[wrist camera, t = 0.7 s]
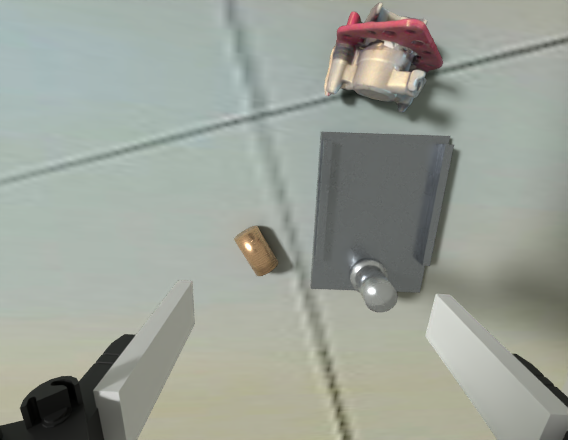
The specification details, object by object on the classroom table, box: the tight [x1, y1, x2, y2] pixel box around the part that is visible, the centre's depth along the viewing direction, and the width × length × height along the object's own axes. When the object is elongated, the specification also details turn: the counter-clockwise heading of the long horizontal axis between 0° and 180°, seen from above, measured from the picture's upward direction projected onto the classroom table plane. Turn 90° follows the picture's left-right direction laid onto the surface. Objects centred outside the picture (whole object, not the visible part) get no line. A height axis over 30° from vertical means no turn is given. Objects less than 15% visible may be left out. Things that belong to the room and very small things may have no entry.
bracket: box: [311, 132, 454, 312], centre depth 34 cm, size 22×16×7 cm
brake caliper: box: [324, 2, 443, 112], centre depth 29 cm, size 11×11×12 cm
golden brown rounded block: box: [234, 226, 278, 276], centre depth 38 cm, size 6×4×4 cm, turn 28°
